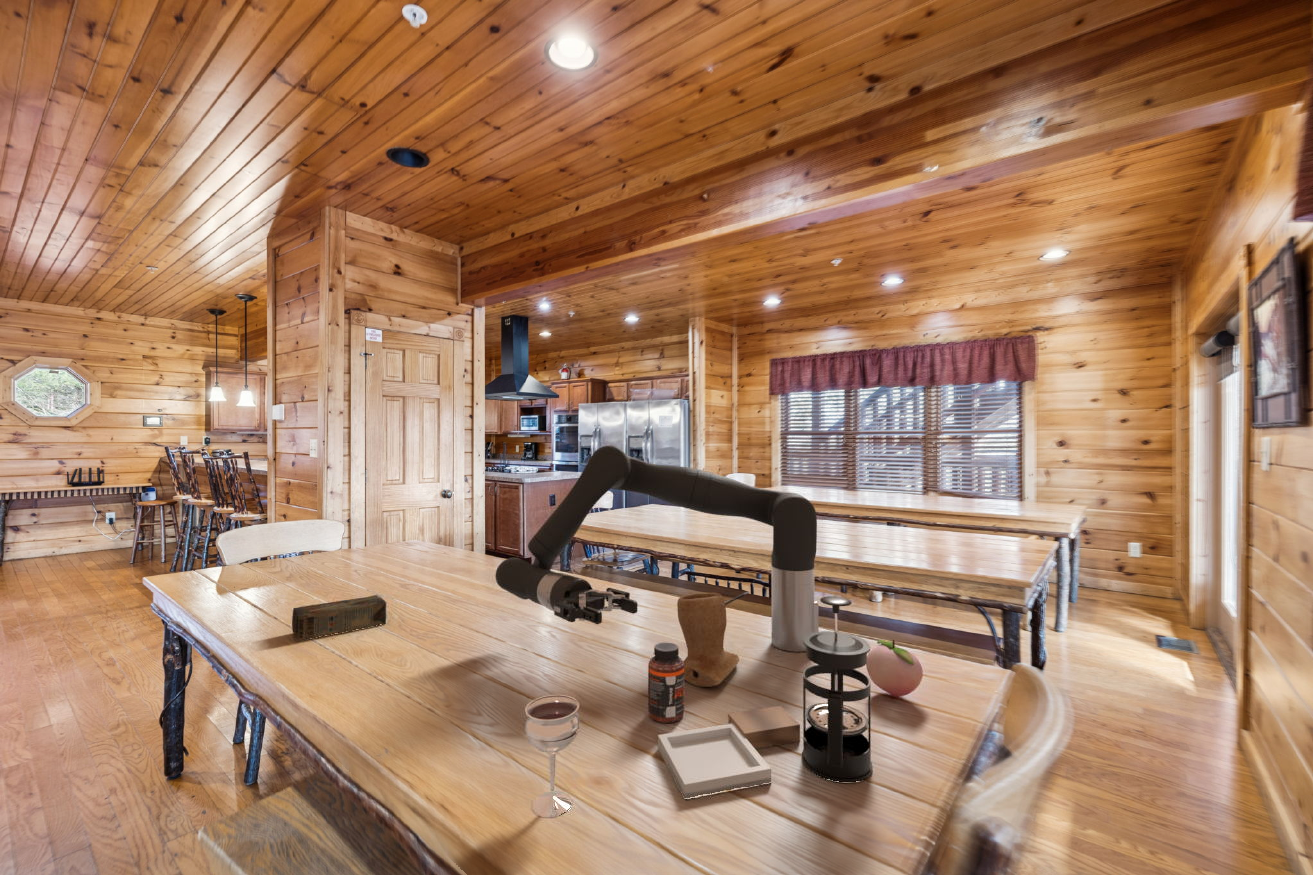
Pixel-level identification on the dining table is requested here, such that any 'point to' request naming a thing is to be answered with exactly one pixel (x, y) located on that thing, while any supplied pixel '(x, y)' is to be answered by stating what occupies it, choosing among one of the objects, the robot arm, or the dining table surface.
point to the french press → (836, 705)
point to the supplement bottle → (666, 684)
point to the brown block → (766, 726)
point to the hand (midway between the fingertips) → (618, 612)
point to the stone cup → (705, 638)
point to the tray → (712, 760)
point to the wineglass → (552, 743)
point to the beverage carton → (338, 617)
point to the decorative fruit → (894, 669)
